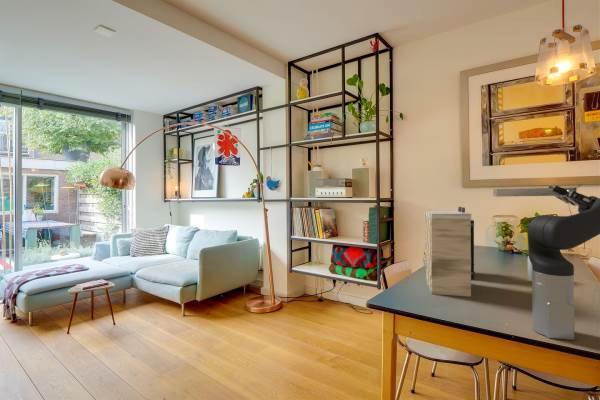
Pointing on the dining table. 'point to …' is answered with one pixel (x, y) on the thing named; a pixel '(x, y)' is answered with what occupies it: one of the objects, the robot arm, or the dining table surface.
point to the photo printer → (529, 270)
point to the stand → (448, 252)
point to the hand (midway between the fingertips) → (551, 188)
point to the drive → (528, 192)
